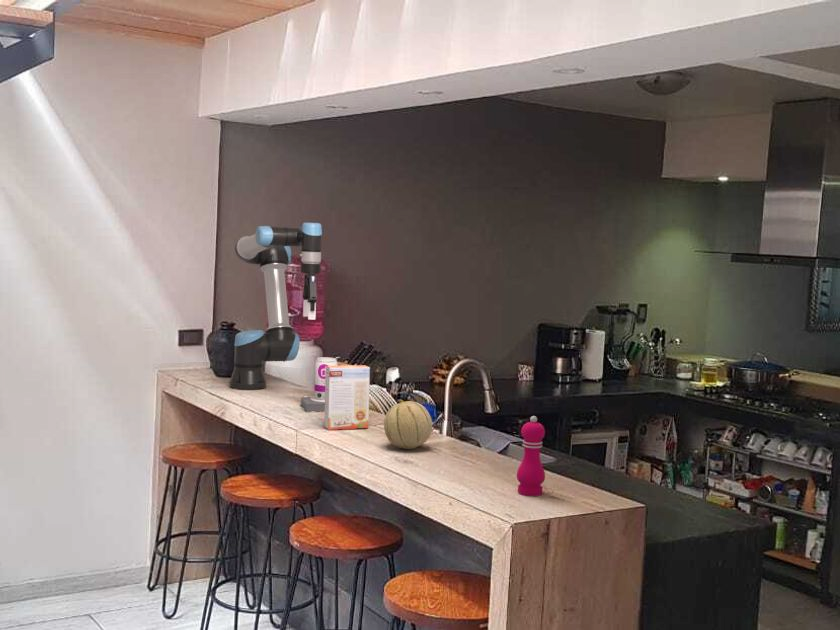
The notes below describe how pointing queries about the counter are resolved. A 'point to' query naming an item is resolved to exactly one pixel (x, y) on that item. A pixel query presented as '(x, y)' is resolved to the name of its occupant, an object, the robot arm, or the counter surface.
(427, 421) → the cantaloupe
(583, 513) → the counter surface
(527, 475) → the pepper mill
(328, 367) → the cracker box
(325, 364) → the supplement can
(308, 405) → the grey flat block
